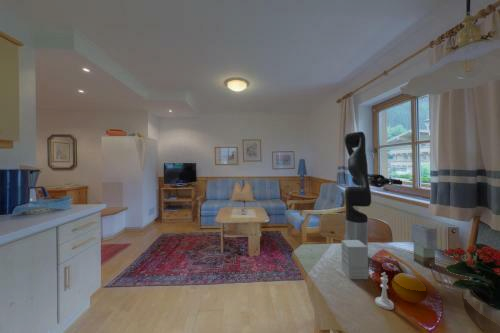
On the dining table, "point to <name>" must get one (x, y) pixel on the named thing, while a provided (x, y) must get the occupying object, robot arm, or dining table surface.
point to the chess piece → (384, 295)
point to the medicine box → (424, 236)
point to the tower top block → (424, 251)
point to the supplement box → (354, 259)
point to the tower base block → (424, 260)
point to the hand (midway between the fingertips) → (393, 182)
